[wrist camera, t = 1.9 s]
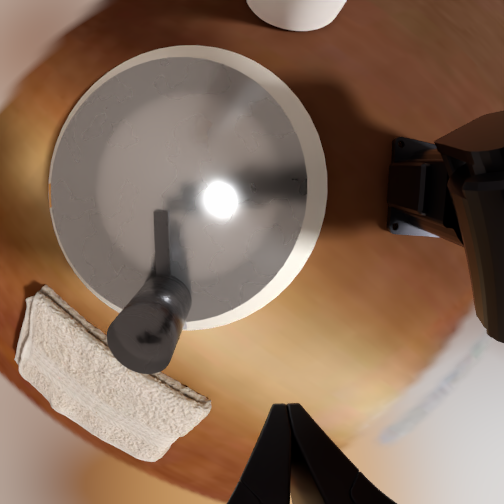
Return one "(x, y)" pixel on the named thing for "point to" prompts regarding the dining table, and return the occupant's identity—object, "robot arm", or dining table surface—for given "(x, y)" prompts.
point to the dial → (176, 198)
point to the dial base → (310, 151)
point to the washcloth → (101, 382)
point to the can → (297, 13)
